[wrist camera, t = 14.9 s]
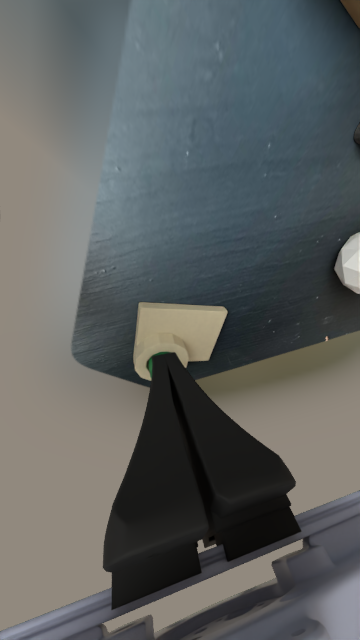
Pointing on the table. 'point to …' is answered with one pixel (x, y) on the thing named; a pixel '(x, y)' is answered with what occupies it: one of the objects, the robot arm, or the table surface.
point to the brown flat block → (353, 9)
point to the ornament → (350, 263)
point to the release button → (151, 362)
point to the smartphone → (357, 134)
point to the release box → (175, 332)
